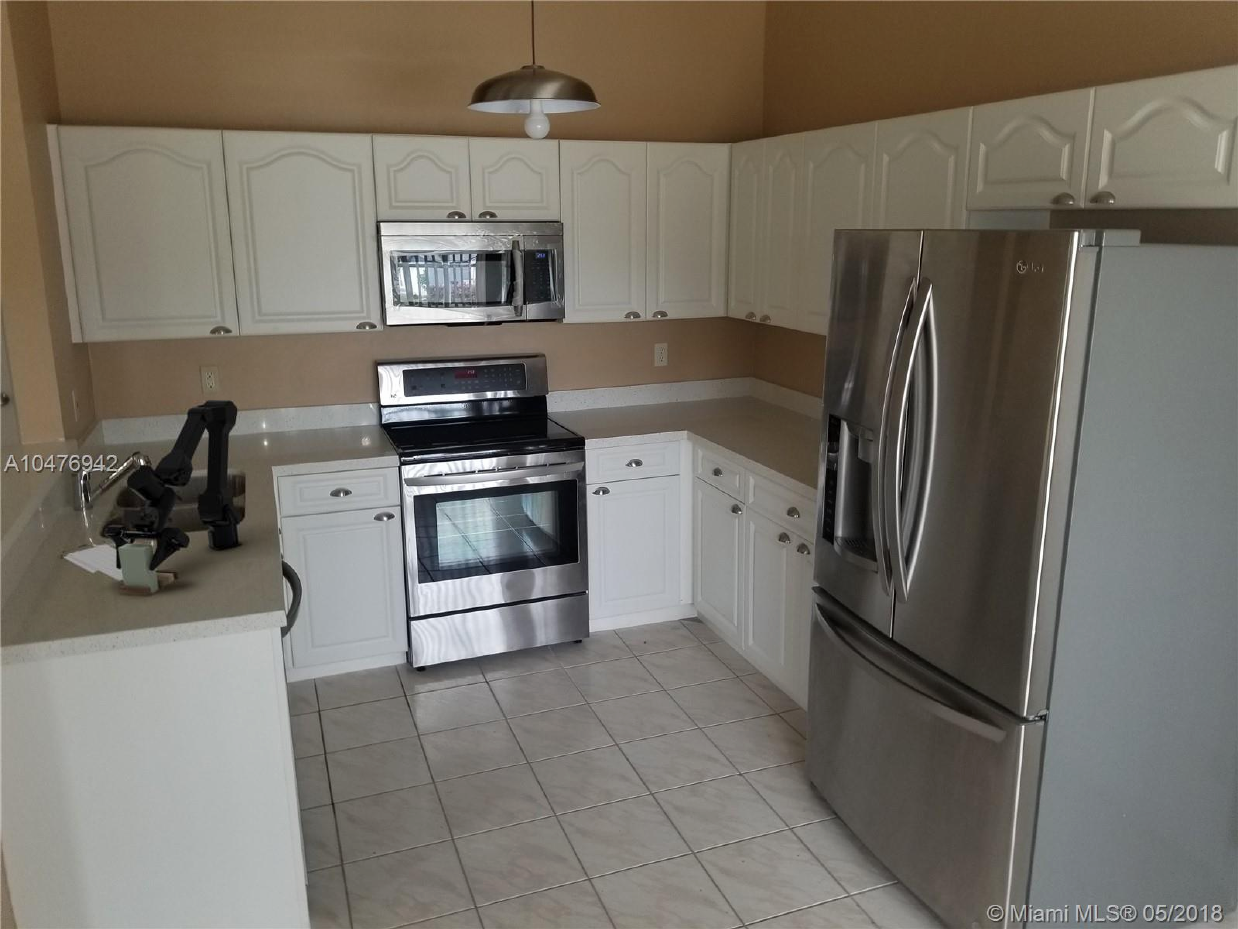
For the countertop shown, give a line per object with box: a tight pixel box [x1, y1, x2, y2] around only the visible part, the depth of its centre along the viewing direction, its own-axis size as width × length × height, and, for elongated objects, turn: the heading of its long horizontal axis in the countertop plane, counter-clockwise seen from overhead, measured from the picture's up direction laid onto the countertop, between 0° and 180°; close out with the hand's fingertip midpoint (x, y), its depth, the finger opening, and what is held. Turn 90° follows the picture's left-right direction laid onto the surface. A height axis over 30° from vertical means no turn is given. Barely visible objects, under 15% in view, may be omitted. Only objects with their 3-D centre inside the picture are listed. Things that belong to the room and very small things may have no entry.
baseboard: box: [58, 541, 123, 582], centre depth 235 cm, size 31×3×12 cm
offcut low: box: [164, 577, 174, 585], centre depth 222 cm, size 4×6×1 cm, turn 80°
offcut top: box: [156, 573, 174, 582], centre depth 222 cm, size 4×6×1 cm, turn 80°
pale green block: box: [118, 543, 159, 593], centre depth 215 cm, size 3×6×11 cm, turn 81°
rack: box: [117, 568, 181, 597], centre depth 220 cm, size 12×8×3 cm, turn 170°
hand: (134, 569), depth 214 cm, fingers open, 8 cm apart
